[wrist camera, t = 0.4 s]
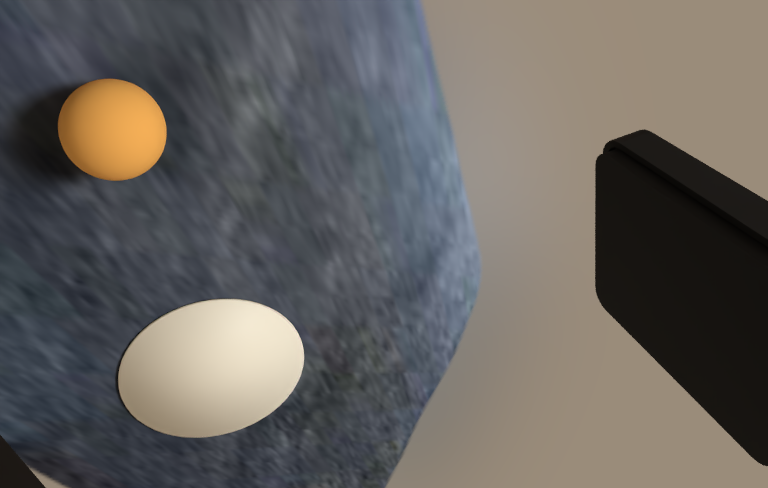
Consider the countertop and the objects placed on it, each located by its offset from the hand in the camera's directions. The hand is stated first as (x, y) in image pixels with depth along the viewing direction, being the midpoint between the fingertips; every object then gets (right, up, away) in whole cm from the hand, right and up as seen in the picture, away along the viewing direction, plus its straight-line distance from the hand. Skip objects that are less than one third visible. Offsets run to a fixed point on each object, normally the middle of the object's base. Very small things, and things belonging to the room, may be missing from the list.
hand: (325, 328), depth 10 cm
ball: (-14, +7, +27) cm, 31 cm away
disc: (-12, -9, +42) cm, 44 cm away
